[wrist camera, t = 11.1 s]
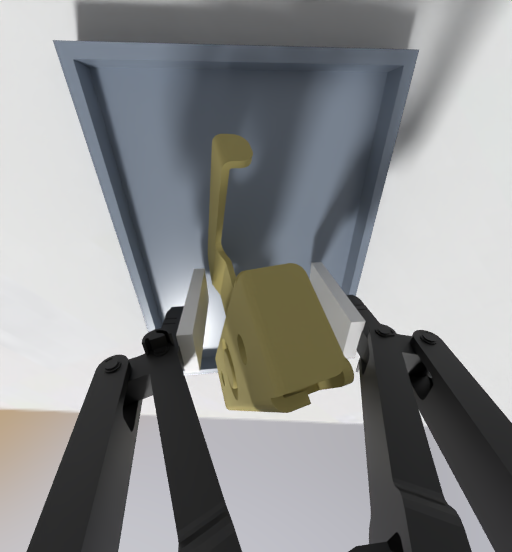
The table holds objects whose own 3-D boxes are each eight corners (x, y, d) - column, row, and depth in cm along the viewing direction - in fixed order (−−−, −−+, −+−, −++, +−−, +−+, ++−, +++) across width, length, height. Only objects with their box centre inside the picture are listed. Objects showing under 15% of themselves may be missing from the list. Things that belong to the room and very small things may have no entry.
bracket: (292, 271, 25) (198, 288, 22) (381, 136, 13) (194, 130, 9) (336, 371, 20) (225, 411, 17) (539, 316, 8) (283, 419, 5)
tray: (78, 54, 12) (53, 40, 10) (394, 61, 13) (418, 49, 12) (168, 360, 24) (163, 377, 22) (331, 346, 25) (338, 361, 23)
